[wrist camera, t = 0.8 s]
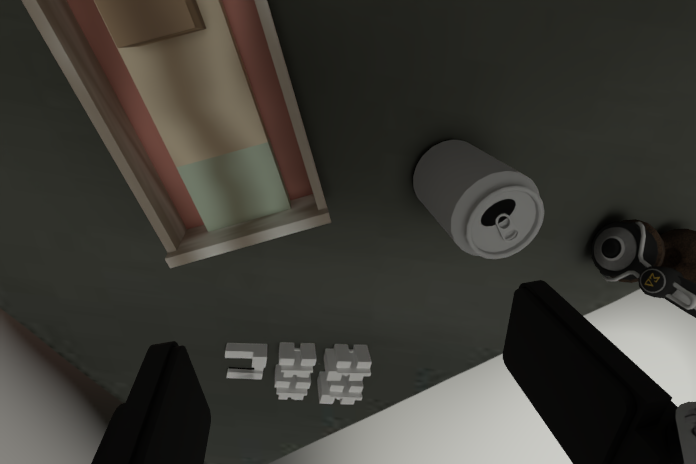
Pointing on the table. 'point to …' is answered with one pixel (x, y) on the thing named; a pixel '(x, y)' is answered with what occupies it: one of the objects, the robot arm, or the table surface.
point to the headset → (649, 260)
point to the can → (478, 199)
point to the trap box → (196, 124)
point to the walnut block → (149, 20)
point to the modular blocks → (308, 369)
